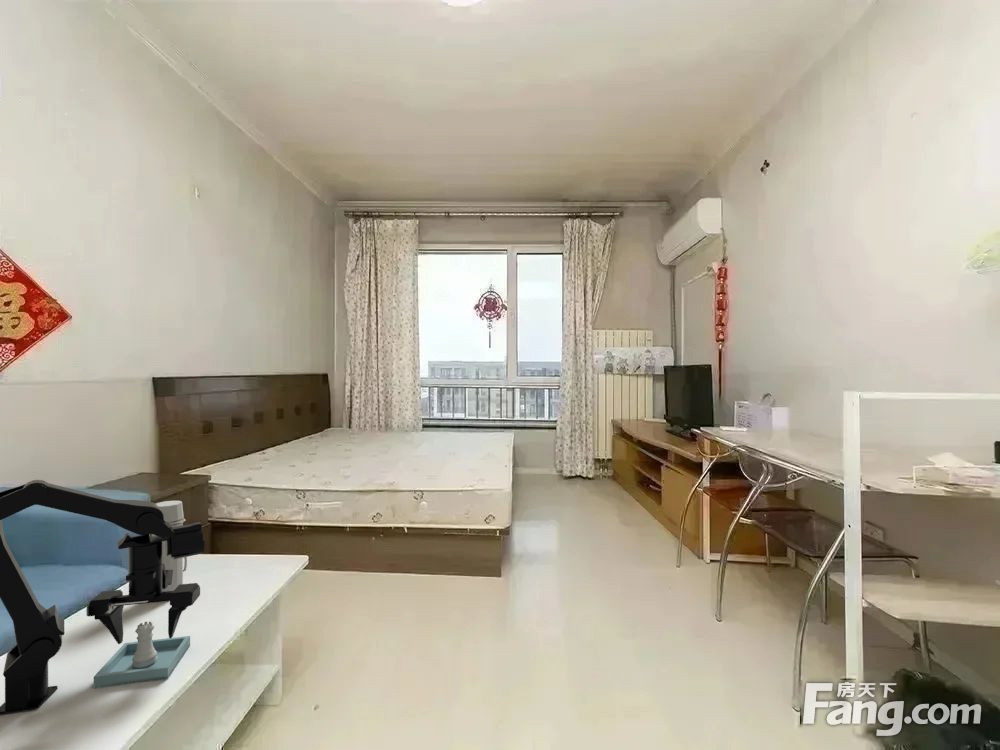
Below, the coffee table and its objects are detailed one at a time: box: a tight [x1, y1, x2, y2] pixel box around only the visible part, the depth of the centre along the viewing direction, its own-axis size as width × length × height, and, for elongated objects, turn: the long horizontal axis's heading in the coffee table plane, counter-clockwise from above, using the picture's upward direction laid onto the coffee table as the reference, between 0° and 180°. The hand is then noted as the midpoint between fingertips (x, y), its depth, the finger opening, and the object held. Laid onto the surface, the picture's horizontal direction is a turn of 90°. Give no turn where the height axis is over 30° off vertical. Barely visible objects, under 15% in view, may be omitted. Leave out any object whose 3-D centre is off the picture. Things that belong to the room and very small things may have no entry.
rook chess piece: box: [132, 621, 158, 668], centre depth 105 cm, size 4×4×8 cm
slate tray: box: [93, 635, 191, 689], centre depth 105 cm, size 13×13×2 cm
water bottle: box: [151, 500, 188, 592], centre depth 139 cm, size 9×8×25 cm
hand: (146, 640), depth 105 cm, fingers open, 9 cm apart
